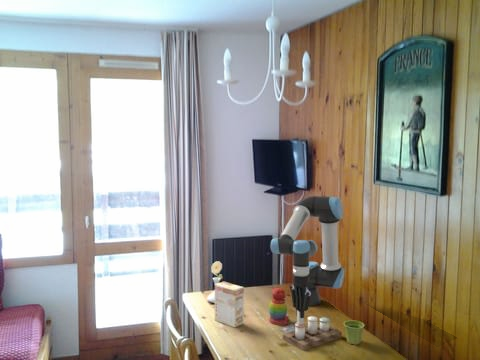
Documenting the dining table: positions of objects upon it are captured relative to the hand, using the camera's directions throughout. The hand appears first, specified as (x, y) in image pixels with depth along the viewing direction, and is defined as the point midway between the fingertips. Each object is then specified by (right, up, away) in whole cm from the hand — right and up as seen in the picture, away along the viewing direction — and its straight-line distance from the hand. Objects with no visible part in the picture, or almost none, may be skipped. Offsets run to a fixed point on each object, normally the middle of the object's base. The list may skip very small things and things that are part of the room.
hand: (300, 323), depth 207 cm
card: (-1, -8, +17) cm, 19 cm away
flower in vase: (-41, -5, +55) cm, 69 cm away
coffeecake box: (-34, -7, +25) cm, 43 cm away
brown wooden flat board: (+7, -9, +6) cm, 12 cm away
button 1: (0, -7, +1) cm, 7 cm away
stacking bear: (-8, -7, +26) cm, 28 cm away
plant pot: (+25, -9, +2) cm, 27 cm away
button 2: (+13, -8, +10) cm, 18 cm away
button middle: (+7, -6, +5) cm, 10 cm away
